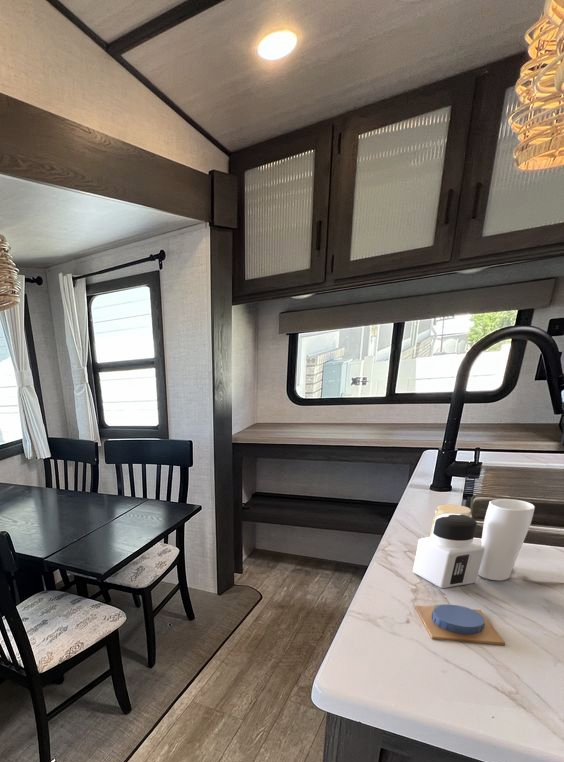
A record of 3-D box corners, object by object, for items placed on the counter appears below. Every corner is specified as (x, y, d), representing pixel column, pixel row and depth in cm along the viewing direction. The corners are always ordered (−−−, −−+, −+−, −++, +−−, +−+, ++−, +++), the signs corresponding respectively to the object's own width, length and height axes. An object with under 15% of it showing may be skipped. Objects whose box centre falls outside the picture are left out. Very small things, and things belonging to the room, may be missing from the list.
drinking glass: (476, 565, 97) (493, 496, 91) (517, 574, 93) (538, 502, 86) (467, 577, 93) (484, 506, 87) (509, 587, 89) (531, 512, 82)
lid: (431, 628, 78) (433, 621, 78) (431, 608, 84) (433, 601, 83) (484, 638, 74) (487, 631, 74) (481, 616, 80) (483, 609, 79)
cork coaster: (480, 612, 82) (480, 609, 82) (504, 645, 73) (505, 642, 73) (415, 607, 85) (415, 605, 85) (431, 639, 76) (432, 636, 76)
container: (476, 583, 91) (493, 520, 86) (441, 589, 90) (455, 526, 85) (444, 566, 98) (457, 508, 93) (411, 572, 97) (422, 513, 92)
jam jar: (457, 541, 108) (466, 503, 104) (469, 553, 102) (478, 514, 99) (424, 540, 110) (431, 503, 106) (433, 552, 104) (441, 513, 101)
